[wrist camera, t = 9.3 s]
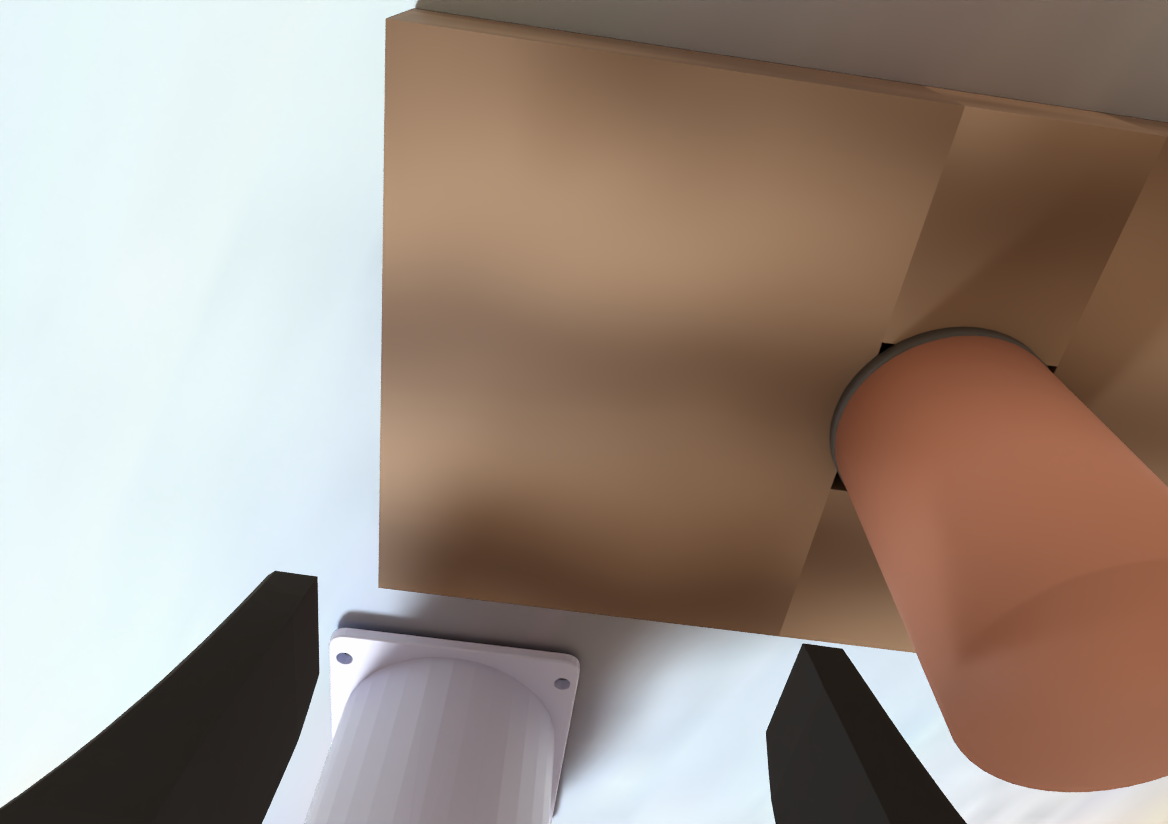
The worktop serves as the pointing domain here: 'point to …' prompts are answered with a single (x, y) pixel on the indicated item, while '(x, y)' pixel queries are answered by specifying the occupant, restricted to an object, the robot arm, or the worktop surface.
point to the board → (715, 310)
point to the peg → (1015, 557)
